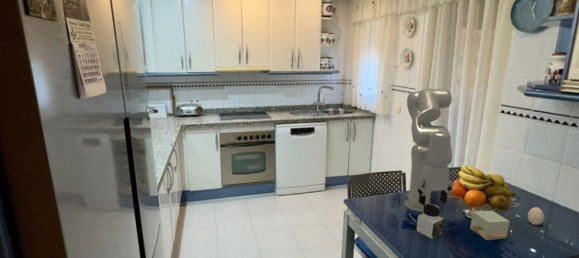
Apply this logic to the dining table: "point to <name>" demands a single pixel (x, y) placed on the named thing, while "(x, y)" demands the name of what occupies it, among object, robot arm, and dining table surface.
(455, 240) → the dining table surface
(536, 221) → the egg
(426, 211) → the medicine bottle
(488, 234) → the block bottom
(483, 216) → the block top
